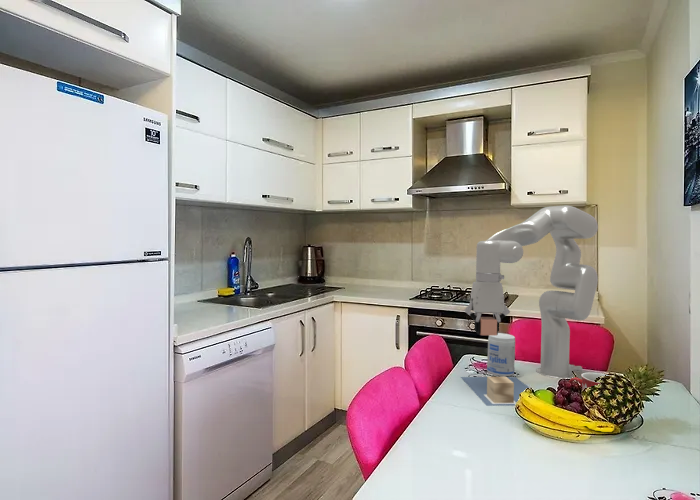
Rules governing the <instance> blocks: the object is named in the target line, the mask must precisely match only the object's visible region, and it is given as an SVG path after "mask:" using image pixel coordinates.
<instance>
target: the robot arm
mask: <svg viewBox="0 0 700 500" xmlns="http://www.w3.org/2000/svg"><path fill="white" fill-rule="evenodd" d="M598 224H599V223H598V221H597V219H596V218H595V217H594V216H593V215H591V214H590V213H588V212H586V211H584V210H581V209H579V208H577V207H575V206H572V205H554V206H553V205H551V206H545V207H542V208H540V209H539V210H538V211H536V212H535V213H533V214H532V215H531V216H530V217H528V218H526V219H525V220H524V221H522V222H521V223H518V224H514V225H513V226H511V227H509V228H508V227H507V228H505V229H503V230H500V231H498V232H496V233H495V234H493V235H492V236H490V237H488V239H486V240H480V241H478V242H477V243H476V253H475V254H476V262H475V263H476V265H475V266H476V267H475V281H473V282H472V285H471V292H470V300H469V304H468V305H467V306H466V308H464V312H465V313H466V314H467V315H469V316H470V318H472V320H473V321H474V324H473V325H474V327H473V329H474V332H475V333H476V334H477V335H480V330H481V323H480V317H482V314H492V315H493V318H494V319H496V320H497V335H498V333H499V331H500V323H501V322H502V321H503V319H505V317H506V316H508V314H511V313H510V312H511V311H510V309H509V308H508V307H507V305H506V304H505V295H504V287H503V283H502V282H501V280H504V279H505V275H504V274H501V263H502V264H515V263H517V262H519V261H521V260H522V258H523V256H524V248H523V247H524V246H525V247H526V246H530V245H533V244H536V243H538V242H539V241H540V240H542V239H543V238H544V237H545V236H547V235H548V234H550V235H551V238H552V239H553V242H554V244H555V256H554V259H553V264H552V268H551V271H550V276H549V283H551V285H552V286H553V287H555V288H557V289H558V288H559V289H562V290H563V291H562V290H547V291H544V292H543V293H541V295H540V297H539V300H538V307H539V311H540V319H541V338H540V339H541V340H540V341H541V342H540V367H539V368H536V370H535V372H536V373H537V374H539V375H542V376H545V377H549V378H554V379H555V378H556V379H561V378H572V377H573V375H574V374H572V373H573V372H572V371H574V372H583V367H582V366H581V365H575V364H570V340H571V337H570V336H571V329H570V325H569V324H568V321H567V319H568V320H572V321H573V320H574V321H584V320H587V319H588V317H589V316H590V314H591V311H592V307H593V304H594V299H595V295H596V292H597V287H598V283H599V281H598V279H599V278H598V277H599V276H598V272H597V270H596V268H594V267H593V266H591V265H588V264H580V262H581V257H582V251H581V249H580V248H581V247H580V246H579V245H578V243H577V241H576V240H578V239H579V240H580V239H582V240H587V239H591V238H593V237H595V235H596V234H597V232H598V230H599V225H598ZM564 290H570V291H571V290H573V291H574V292H568V291H564ZM472 311H473V312H474V313H473V312H472Z"/></svg>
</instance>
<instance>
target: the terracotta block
mask: <svg viewBox="0 0 700 500" xmlns="http://www.w3.org/2000/svg"><path fill="white" fill-rule="evenodd" d="M480 323H481V330H480V334H479V335H480V336H489V335H497V320H496V319H494V317H491V316H481V317H480Z"/></svg>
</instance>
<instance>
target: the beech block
mask: <svg viewBox="0 0 700 500" xmlns="http://www.w3.org/2000/svg"><path fill="white" fill-rule="evenodd" d="M486 377H487V396H488V397H489V398H490V399H491V400H492V401H493V402H494V403H514V383H513V382H512V381H511V380H510V379H508V378H507V377H508V376H486Z"/></svg>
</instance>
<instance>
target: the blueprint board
mask: <svg viewBox="0 0 700 500" xmlns="http://www.w3.org/2000/svg"><path fill="white" fill-rule="evenodd" d="M487 377H488V376H460V378H461V379H462V381H463V382H464V383H466V385H467V386H468V387H469V388H470V389H471V391H473V392H474V394H475V395H476V396H477V398H479V400H481V401H482V403H484V404H485V406H487V407H490V406H491V407H493V406H495V407H497V406H498V407H500V406H501V407H502V406H503V407H504V406H505V407H506V406H511V407H513V406H514V407H516V406H515V404H516V402H517V401H518V399H519V394H520V393H521V392H523V391H524V390H525V389H526V388H530V387H529V386H528V385H526V384H525V383H524V382H522V381H521V380H520V379H519V378H517V377H516V376H506V377H507V378H508V379H510V380H511V381H512V382H513V383H514V403H494V402H493V401H492V400H491V399H490V398H489V397H488V396H487Z"/></svg>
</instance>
